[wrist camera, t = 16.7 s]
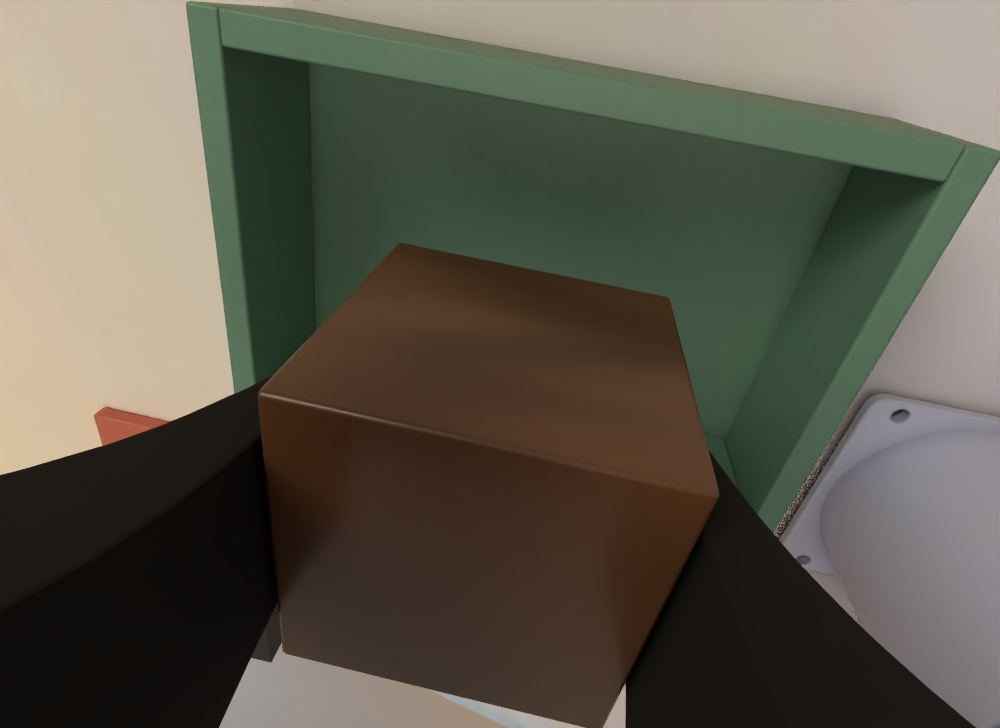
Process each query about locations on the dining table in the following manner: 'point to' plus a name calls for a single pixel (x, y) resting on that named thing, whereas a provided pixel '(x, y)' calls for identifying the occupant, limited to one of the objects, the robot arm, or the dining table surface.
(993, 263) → the dining table surface
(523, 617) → the walnut block
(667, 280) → the box
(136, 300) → the dining table surface
